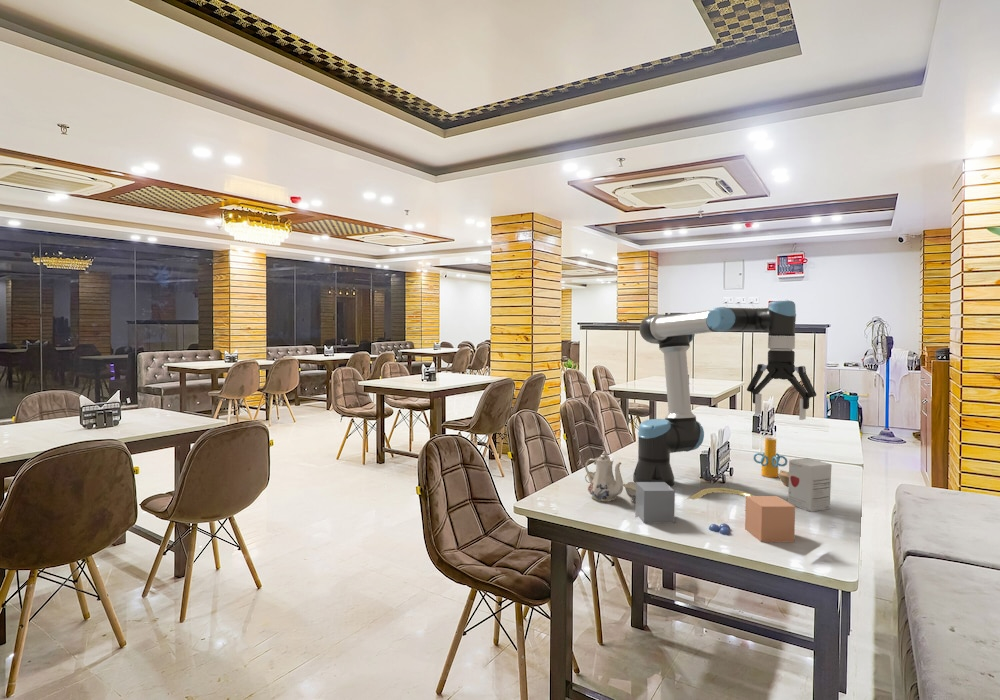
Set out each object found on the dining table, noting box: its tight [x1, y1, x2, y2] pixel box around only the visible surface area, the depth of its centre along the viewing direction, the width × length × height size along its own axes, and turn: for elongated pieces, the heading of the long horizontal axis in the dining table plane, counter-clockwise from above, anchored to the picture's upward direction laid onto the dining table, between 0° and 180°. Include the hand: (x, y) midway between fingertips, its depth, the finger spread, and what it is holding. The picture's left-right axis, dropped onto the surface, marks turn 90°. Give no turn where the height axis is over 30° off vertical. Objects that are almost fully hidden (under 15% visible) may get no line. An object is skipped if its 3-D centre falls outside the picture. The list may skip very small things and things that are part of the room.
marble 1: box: [708, 523, 720, 533], centre depth 151 cm, size 3×3×3 cm
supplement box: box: [787, 457, 833, 513], centre depth 176 cm, size 9×9×15 cm
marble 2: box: [718, 523, 731, 531], centre depth 152 cm, size 3×3×3 cm
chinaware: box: [584, 450, 636, 502], centre depth 186 cm, size 28×17×17 cm, turn 42°
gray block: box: [634, 482, 676, 524], centre depth 161 cm, size 9×9×11 cm
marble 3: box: [718, 527, 732, 536], centre depth 149 cm, size 3×3×3 cm
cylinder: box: [753, 437, 788, 479], centre depth 213 cm, size 12×10×15 cm
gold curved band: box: [685, 487, 755, 501], centre depth 177 cm, size 19×35×2 cm, turn 139°
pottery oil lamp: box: [778, 469, 789, 488], centre depth 193 cm, size 9×12×7 cm
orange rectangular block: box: [744, 495, 796, 543], centre depth 147 cm, size 9×9×11 cm
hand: (779, 416), depth 170 cm, fingers open, 13 cm apart
